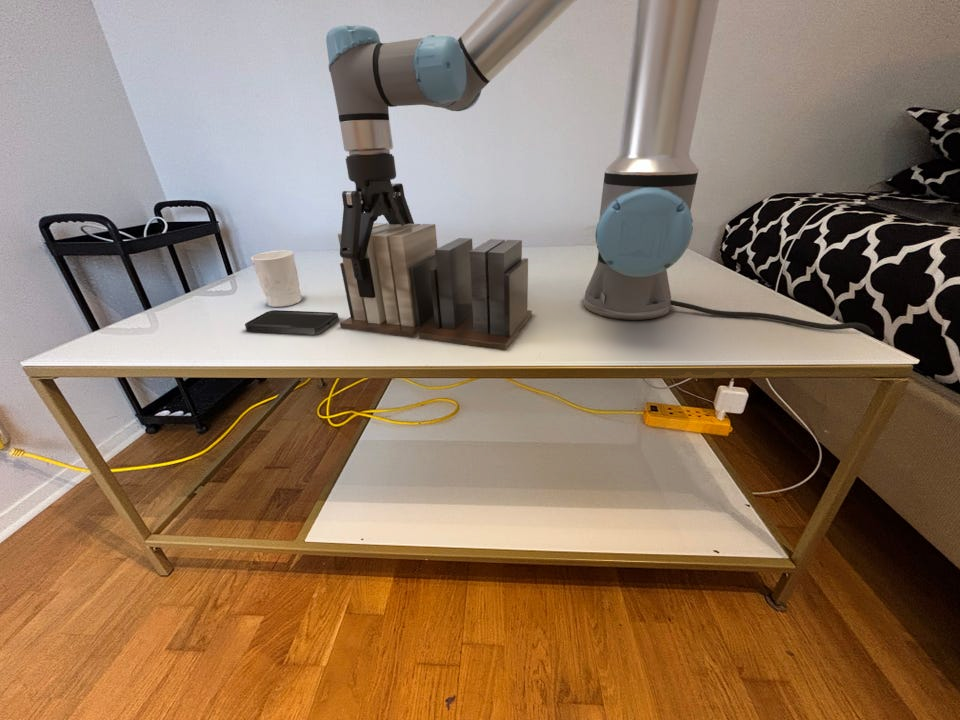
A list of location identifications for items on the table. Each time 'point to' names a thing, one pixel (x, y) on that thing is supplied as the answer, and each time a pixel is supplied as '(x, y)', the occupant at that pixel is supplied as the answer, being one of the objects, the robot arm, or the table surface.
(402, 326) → the beige book set
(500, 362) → the table surface
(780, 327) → the table surface
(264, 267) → the white cup
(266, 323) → the phone
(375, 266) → the white book
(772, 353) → the table surface
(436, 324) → the grey stand
